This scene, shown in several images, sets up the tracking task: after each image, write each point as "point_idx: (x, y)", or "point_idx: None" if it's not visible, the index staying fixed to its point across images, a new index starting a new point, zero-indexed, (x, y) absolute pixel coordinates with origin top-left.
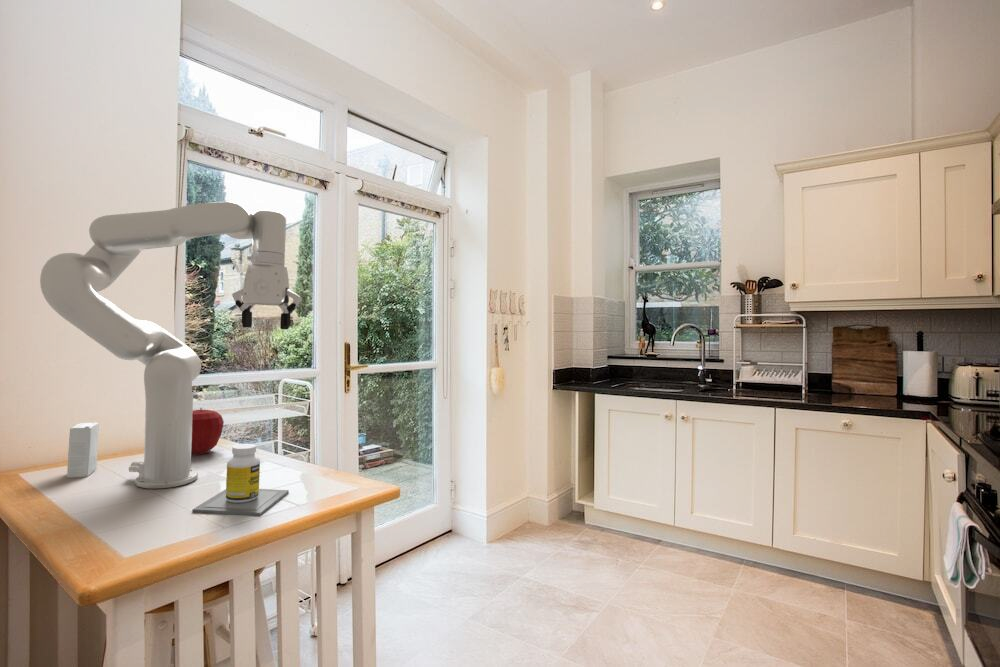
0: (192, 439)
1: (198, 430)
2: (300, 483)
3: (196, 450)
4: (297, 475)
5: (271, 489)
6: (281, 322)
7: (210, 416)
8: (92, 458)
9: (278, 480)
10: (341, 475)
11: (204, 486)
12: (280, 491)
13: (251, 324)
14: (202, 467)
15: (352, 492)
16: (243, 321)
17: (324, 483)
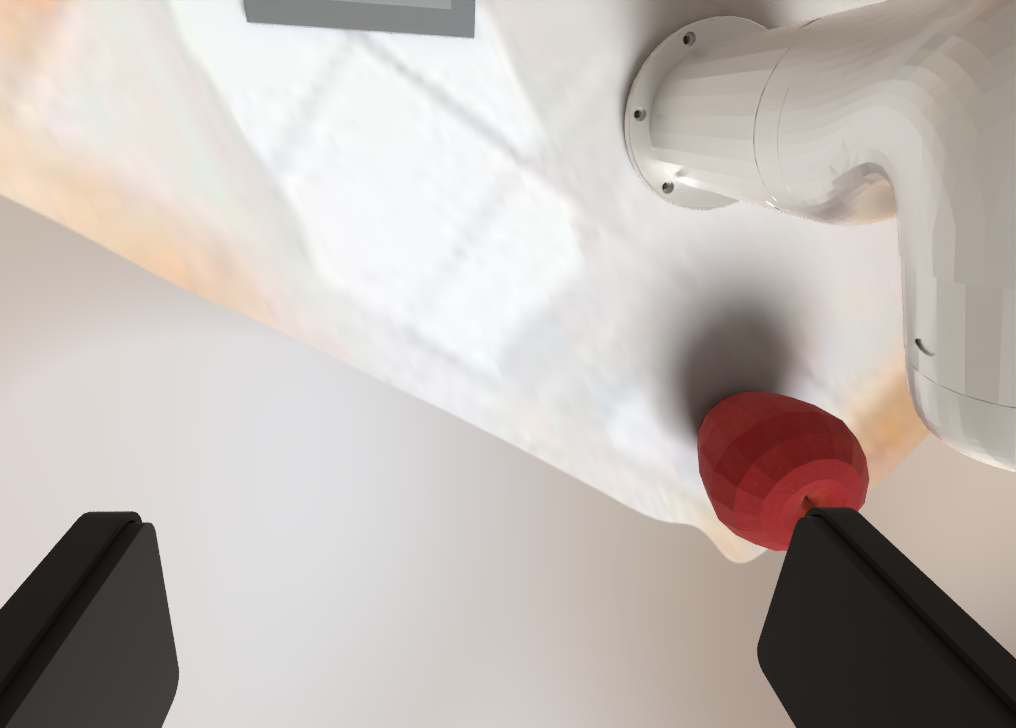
0: (766, 396)
1: (764, 413)
2: (261, 142)
3: (737, 394)
4: (316, 234)
5: (314, 26)
6: (52, 596)
7: (760, 473)
8: None
9: (355, 168)
10: (158, 256)
11: (569, 71)
12: (270, 4)
13: (773, 683)
14: (662, 277)
15: (10, 52)
16: (898, 566)
17: (174, 152)
